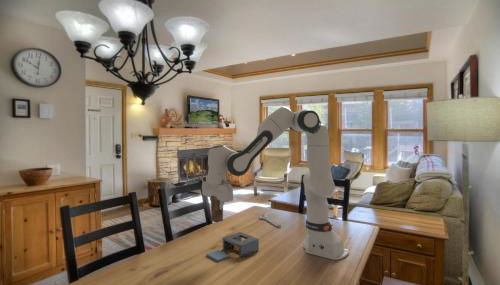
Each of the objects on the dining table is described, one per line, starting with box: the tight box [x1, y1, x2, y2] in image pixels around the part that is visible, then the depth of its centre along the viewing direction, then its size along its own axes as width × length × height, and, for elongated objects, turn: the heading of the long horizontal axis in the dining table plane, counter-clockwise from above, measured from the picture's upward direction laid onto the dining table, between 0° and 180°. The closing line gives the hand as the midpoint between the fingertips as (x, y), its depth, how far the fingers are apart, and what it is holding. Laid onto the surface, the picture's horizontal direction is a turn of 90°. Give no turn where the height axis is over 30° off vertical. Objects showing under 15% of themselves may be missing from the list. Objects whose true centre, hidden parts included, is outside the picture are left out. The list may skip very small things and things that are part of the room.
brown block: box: [210, 196, 224, 223], centre depth 135 cm, size 4×4×12 cm
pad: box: [205, 249, 230, 263], centre depth 136 cm, size 9×7×1 cm
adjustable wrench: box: [258, 214, 282, 229], centre depth 187 cm, size 25×6×2 cm, turn 20°
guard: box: [222, 231, 260, 259], centre depth 144 cm, size 14×12×6 cm
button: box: [233, 245, 239, 252], centre depth 144 cm, size 5×5×2 cm
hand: (217, 207), depth 136 cm, fingers closed on brown block, 4 cm apart
